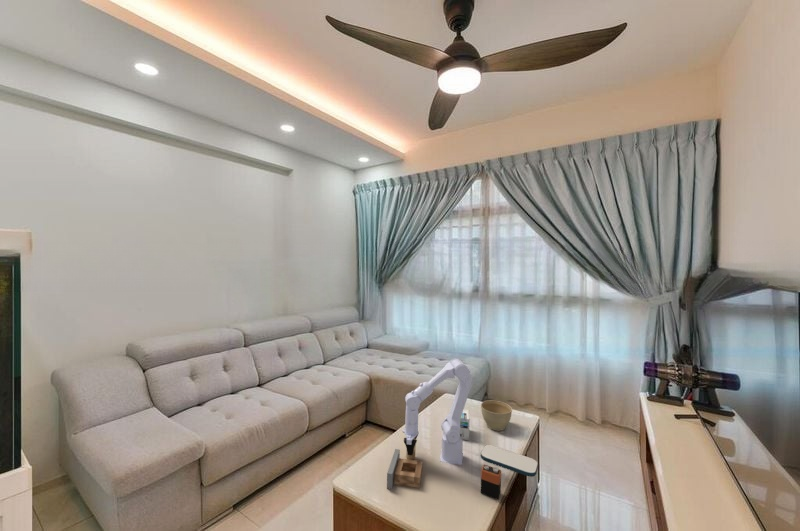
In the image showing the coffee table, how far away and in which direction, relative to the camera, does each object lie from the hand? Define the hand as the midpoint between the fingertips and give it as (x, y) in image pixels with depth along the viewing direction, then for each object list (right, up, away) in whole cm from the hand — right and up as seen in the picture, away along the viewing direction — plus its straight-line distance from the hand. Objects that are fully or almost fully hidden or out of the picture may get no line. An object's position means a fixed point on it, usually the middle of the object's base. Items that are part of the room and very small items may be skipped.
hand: (410, 451), depth 138 cm
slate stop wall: (-8, -4, -11) cm, 14 cm away
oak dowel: (0, -2, 0) cm, 2 cm away
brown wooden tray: (-1, -3, -12) cm, 12 cm away
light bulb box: (+27, -5, +22) cm, 36 cm away
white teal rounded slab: (+44, -6, +1) cm, 44 cm away
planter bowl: (+47, -5, +31) cm, 57 cm away
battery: (+30, -5, -19) cm, 36 cm away
